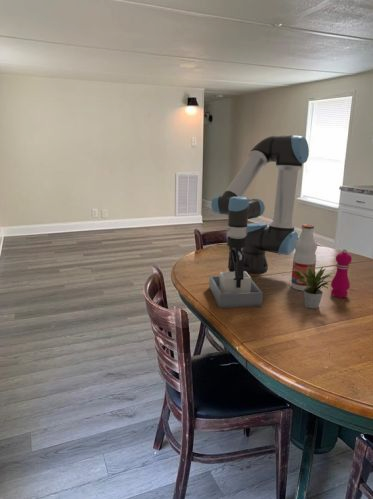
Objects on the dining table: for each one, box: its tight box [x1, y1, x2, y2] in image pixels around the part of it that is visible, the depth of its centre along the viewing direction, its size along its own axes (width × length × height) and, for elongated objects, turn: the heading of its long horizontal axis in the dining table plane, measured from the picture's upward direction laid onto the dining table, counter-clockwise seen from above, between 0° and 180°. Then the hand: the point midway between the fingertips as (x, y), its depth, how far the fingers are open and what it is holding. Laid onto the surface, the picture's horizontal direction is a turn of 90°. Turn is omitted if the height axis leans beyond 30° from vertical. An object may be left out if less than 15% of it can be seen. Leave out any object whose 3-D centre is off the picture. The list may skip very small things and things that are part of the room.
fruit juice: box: [290, 223, 318, 292], centre depth 162 cm, size 9×9×28 cm
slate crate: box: [208, 275, 264, 309], centre depth 153 cm, size 17×21×6 cm
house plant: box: [298, 266, 336, 309], centre depth 142 cm, size 14×14×16 cm
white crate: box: [219, 271, 252, 293], centre depth 153 cm, size 11×8×7 cm
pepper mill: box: [330, 248, 353, 298], centre depth 155 cm, size 7×7×20 cm
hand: (234, 290), depth 153 cm, fingers closed on white crate, 8 cm apart
